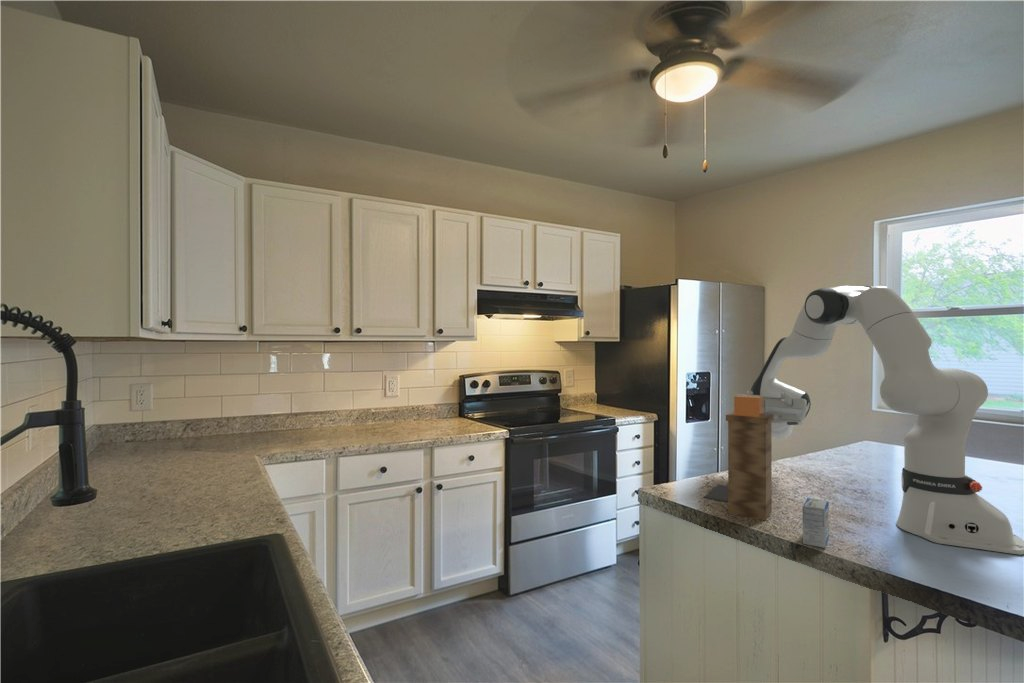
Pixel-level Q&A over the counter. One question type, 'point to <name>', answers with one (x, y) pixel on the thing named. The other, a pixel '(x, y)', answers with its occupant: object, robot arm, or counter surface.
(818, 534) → the medicine box
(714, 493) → the rubber mat
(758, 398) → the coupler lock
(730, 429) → the stand
